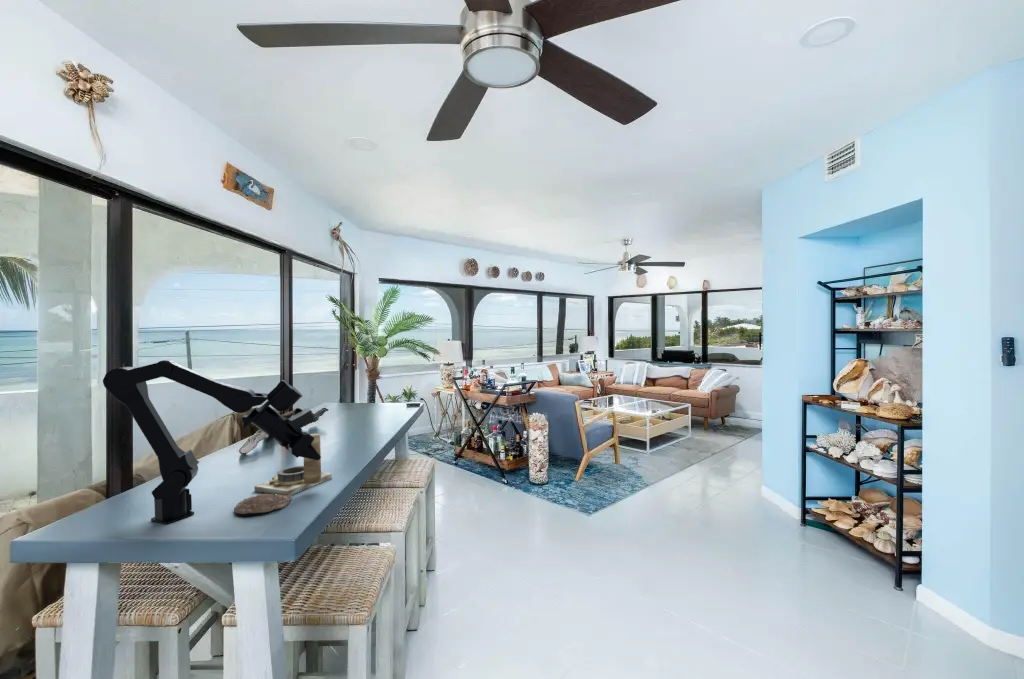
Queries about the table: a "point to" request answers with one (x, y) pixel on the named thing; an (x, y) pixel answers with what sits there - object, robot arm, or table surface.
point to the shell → (261, 504)
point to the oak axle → (313, 464)
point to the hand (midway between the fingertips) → (317, 457)
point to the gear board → (288, 489)
